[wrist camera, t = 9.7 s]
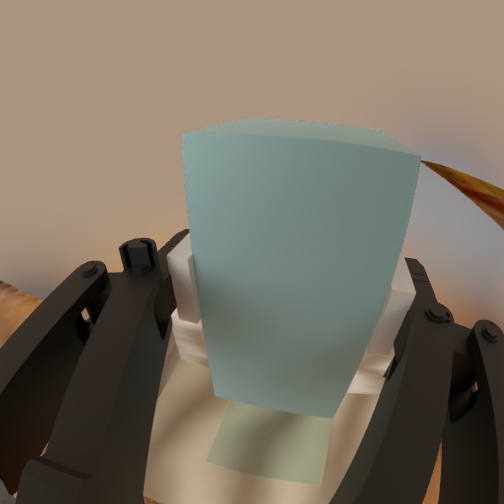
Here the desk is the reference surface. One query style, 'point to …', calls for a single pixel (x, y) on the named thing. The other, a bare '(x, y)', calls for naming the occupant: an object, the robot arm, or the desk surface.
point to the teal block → (293, 253)
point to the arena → (248, 436)
